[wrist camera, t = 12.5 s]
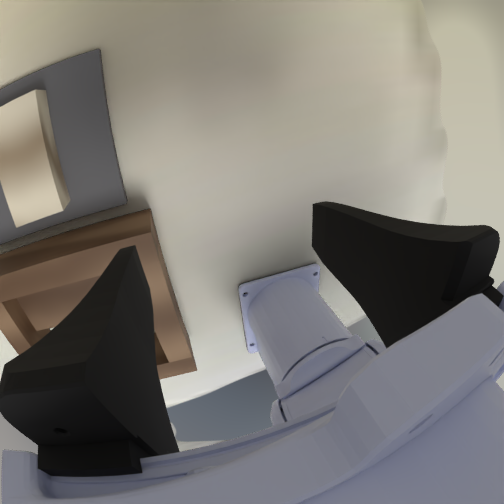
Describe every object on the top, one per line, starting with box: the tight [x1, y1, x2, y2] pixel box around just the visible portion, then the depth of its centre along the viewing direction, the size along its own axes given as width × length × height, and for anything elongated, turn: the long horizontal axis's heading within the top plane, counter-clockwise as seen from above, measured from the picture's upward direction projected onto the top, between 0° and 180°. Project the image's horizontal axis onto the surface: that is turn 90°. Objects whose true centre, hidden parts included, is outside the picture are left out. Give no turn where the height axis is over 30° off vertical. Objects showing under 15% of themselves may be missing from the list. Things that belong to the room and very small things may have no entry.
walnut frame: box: [0, 209, 197, 379], centre depth 20 cm, size 14×15×4 cm
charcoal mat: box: [0, 49, 127, 245], centre depth 14 cm, size 11×12×1 cm
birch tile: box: [0, 90, 70, 228], centre depth 13 cm, size 8×4×2 cm, turn 5°
